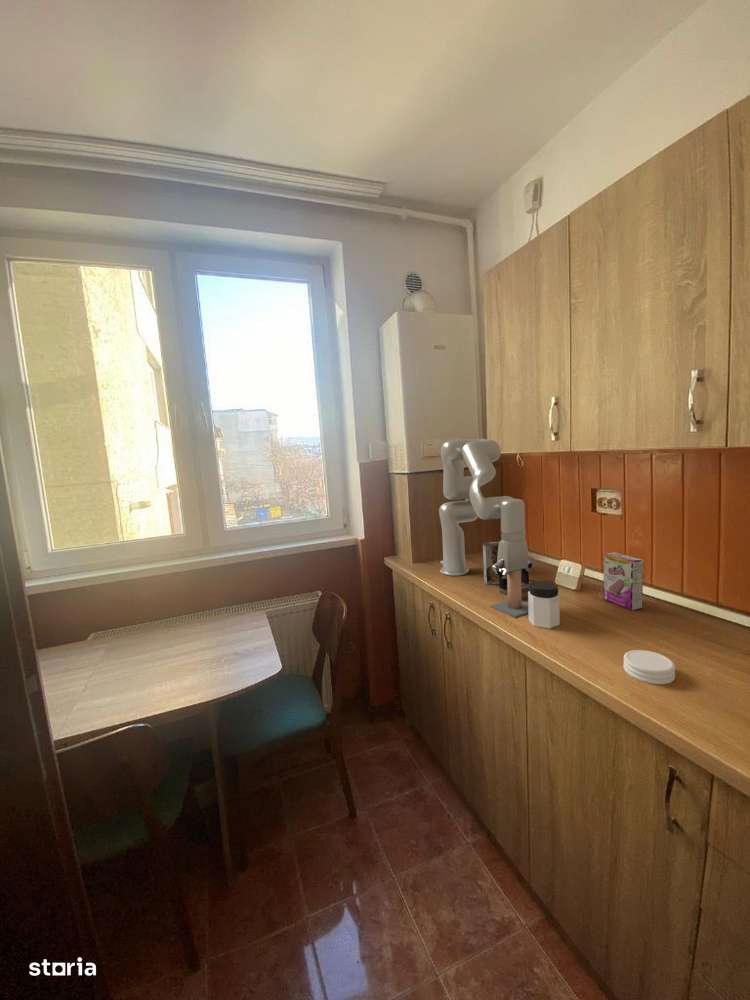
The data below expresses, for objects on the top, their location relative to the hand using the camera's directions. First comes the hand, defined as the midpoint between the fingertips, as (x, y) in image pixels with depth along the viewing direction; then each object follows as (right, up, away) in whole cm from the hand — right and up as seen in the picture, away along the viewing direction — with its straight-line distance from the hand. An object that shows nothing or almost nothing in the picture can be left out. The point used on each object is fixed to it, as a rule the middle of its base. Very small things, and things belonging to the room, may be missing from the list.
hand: (514, 586), depth 135 cm
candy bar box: (+36, -6, -1) cm, 36 cm away
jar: (+5, -9, -11) cm, 15 cm away
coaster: (+17, -12, -41) cm, 46 cm away
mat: (0, -8, +1) cm, 8 cm away
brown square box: (+6, -6, +14) cm, 16 cm away
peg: (0, -7, +1) cm, 7 cm away
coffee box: (+3, -5, +28) cm, 29 cm away
